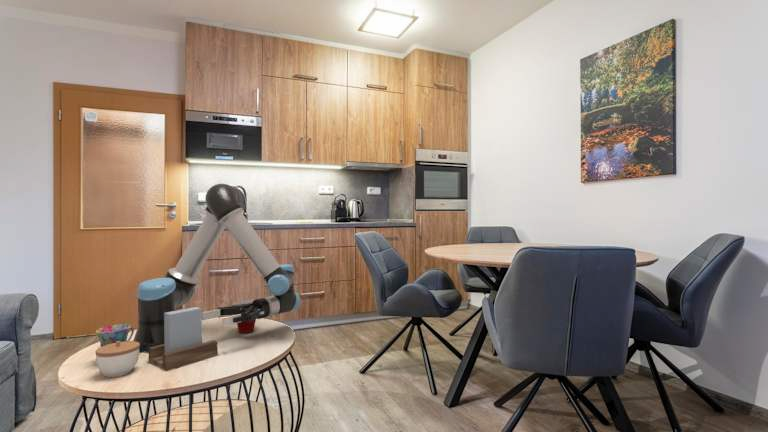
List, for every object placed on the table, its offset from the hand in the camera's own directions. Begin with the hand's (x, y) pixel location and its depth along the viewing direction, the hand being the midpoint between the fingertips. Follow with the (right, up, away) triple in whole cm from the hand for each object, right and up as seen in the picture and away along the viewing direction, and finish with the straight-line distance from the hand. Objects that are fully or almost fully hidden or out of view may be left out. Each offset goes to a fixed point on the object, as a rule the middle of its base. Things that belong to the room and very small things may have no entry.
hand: (212, 319), depth 131 cm
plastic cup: (+4, -11, +21) cm, 24 cm away
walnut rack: (-6, -11, -8) cm, 14 cm away
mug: (-27, -11, -8) cm, 30 cm away
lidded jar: (-19, -11, -19) cm, 29 cm away
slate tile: (-6, -9, -8) cm, 13 cm away
